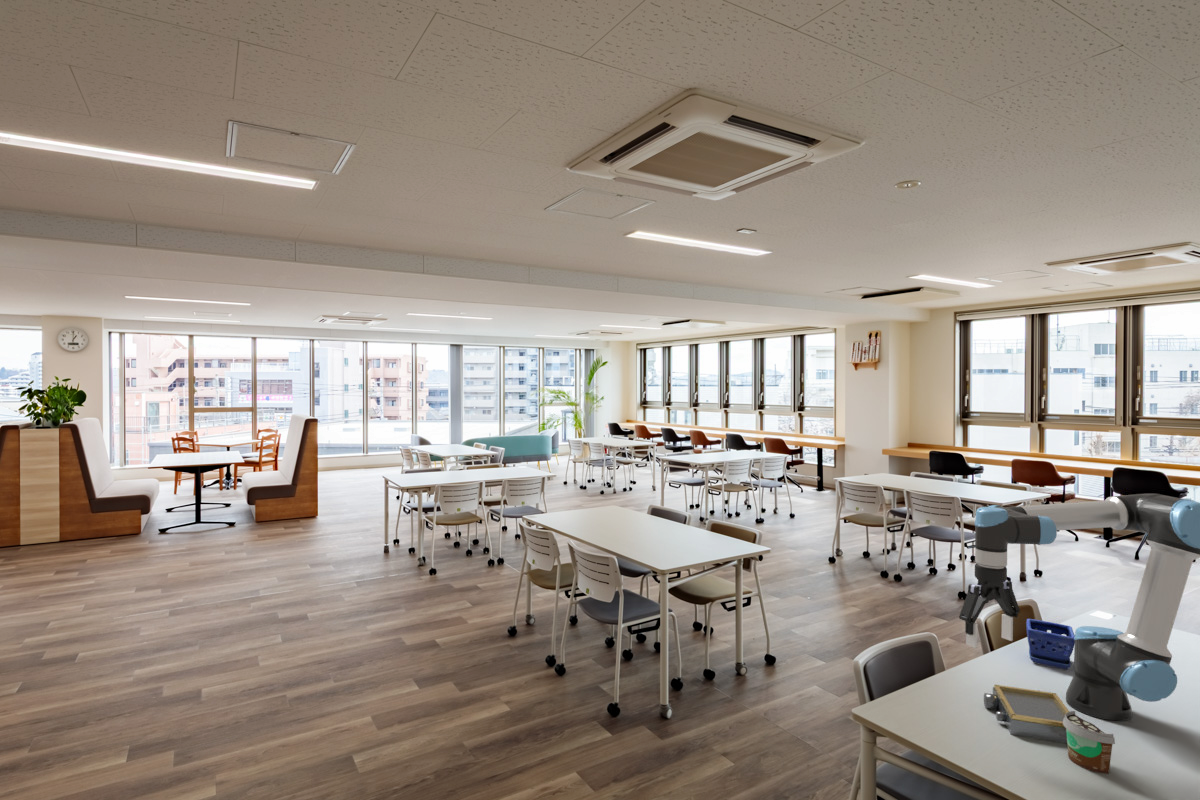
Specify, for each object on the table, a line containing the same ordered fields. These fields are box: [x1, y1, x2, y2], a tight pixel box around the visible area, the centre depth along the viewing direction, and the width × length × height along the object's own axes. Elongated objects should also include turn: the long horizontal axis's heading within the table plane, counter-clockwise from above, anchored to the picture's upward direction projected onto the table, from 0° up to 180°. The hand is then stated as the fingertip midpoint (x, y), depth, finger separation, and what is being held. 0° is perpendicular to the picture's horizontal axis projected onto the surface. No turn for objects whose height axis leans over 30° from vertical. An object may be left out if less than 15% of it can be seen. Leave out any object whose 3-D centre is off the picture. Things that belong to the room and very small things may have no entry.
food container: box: [1063, 710, 1116, 774], centre depth 160 cm, size 12×6×10 cm, turn 5°
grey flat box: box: [983, 684, 1070, 744], centre depth 180 cm, size 19×20×5 cm
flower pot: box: [1025, 618, 1075, 670], centre depth 220 cm, size 13×13×12 cm
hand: (989, 642), depth 177 cm, fingers open, 13 cm apart
